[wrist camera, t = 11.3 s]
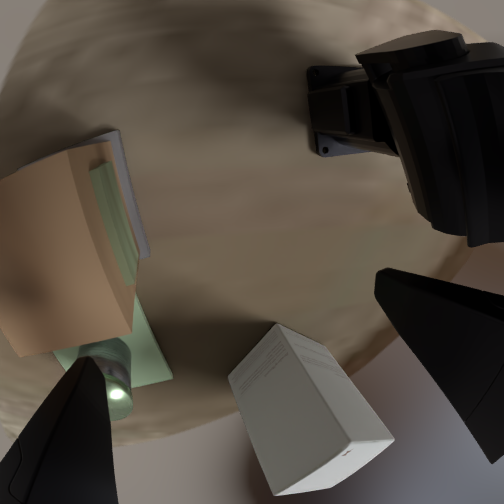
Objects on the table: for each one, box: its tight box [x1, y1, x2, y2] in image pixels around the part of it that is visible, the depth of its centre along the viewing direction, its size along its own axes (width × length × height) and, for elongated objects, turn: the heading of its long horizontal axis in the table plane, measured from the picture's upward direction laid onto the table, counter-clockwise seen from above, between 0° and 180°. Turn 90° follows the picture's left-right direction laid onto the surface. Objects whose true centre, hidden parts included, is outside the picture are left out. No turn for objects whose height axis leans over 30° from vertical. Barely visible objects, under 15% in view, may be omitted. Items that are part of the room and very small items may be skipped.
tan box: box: [0, 130, 150, 357], centre depth 12 cm, size 7×8×9 cm
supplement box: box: [228, 323, 395, 496], centre depth 21 cm, size 7×7×13 cm
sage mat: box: [52, 292, 173, 388], centre depth 20 cm, size 9×9×1 cm
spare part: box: [77, 337, 133, 421], centre depth 17 cm, size 5×5×5 cm
